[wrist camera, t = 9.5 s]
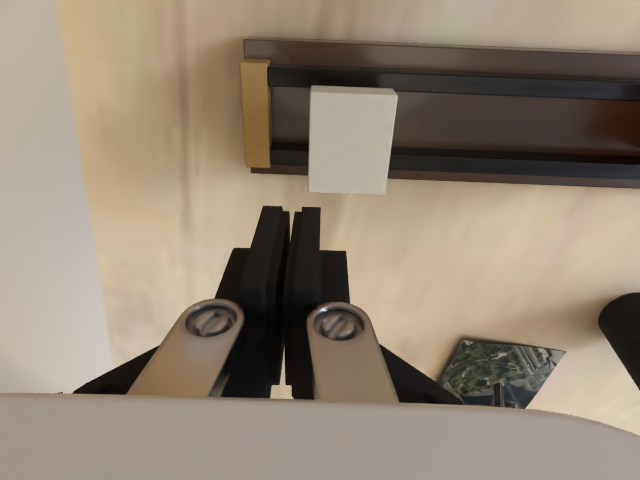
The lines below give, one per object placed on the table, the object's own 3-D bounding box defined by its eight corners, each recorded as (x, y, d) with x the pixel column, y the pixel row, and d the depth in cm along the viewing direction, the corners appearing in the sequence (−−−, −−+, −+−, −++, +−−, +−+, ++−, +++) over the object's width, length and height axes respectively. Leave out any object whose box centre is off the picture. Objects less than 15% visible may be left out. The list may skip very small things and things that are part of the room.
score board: (247, 36, 24) (243, 38, 23) (755, 57, 24) (779, 60, 23) (254, 165, 28) (250, 173, 27) (687, 182, 28) (704, 191, 27)
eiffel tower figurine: (459, 332, 36) (520, 490, 24) (565, 351, 37) (672, 512, 25) (404, 433, 44) (431, 590, 32) (493, 447, 45) (550, 604, 33)
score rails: (244, 58, 23) (239, 62, 22) (768, 79, 23) (793, 84, 22) (249, 159, 26) (245, 167, 25) (712, 177, 27) (731, 186, 25)
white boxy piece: (313, 71, 23) (309, 92, 19) (383, 74, 23) (398, 95, 19) (311, 155, 26) (307, 192, 21) (374, 158, 26) (385, 195, 21)
